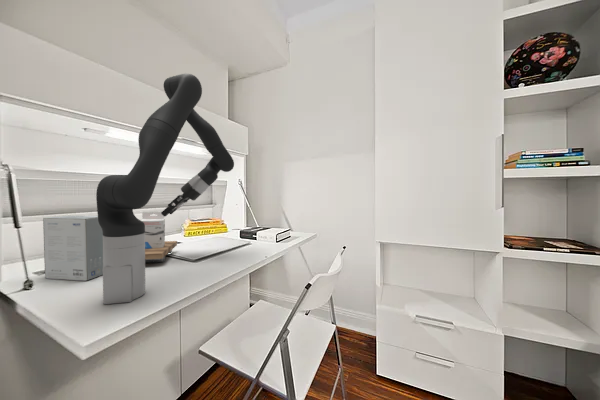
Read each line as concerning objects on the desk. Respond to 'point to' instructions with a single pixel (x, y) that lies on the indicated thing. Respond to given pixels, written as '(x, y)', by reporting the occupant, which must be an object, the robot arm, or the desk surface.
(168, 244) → the slab
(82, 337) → the desk surface
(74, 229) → the hard drive box
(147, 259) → the rollers
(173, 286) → the desk surface
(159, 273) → the desk surface
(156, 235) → the ink box
